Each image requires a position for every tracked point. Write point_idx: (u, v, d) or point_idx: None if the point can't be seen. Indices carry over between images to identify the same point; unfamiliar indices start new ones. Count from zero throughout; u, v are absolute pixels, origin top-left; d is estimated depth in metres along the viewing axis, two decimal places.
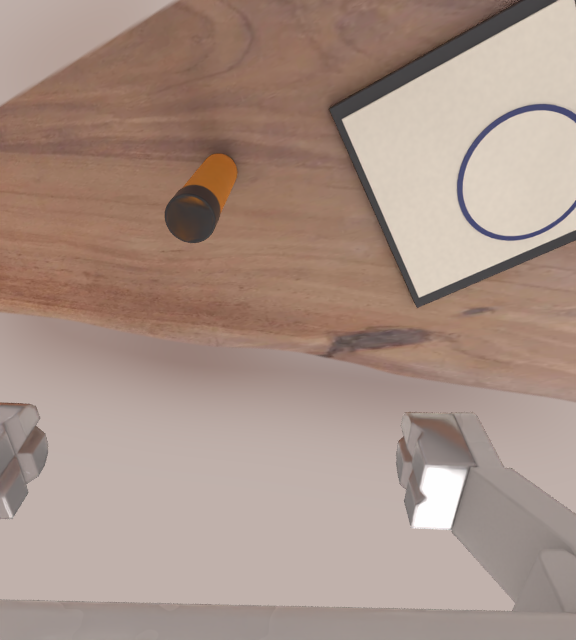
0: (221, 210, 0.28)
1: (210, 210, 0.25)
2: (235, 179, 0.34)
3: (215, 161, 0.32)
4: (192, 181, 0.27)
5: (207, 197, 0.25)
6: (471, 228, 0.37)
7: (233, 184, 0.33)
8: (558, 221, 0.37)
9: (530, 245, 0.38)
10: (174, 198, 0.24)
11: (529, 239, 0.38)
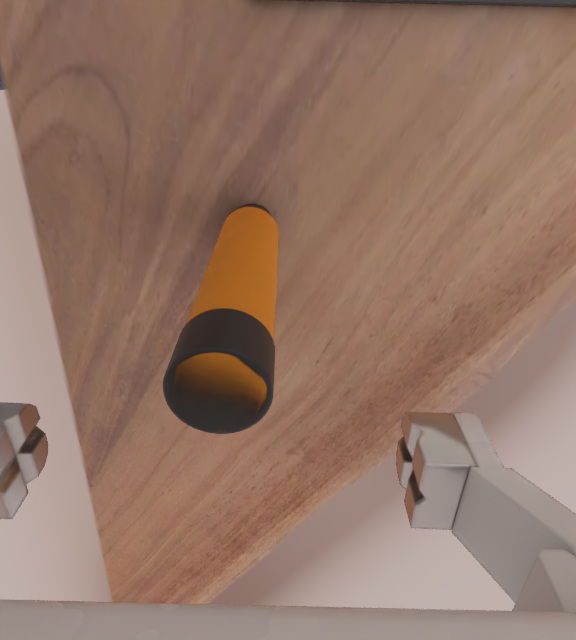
0: (262, 304, 0.14)
1: (219, 352, 0.11)
2: (269, 221, 0.20)
3: (219, 239, 0.19)
4: None
5: (198, 338, 0.11)
6: None
7: (270, 231, 0.19)
8: None
9: None
10: (166, 395, 0.12)
11: None
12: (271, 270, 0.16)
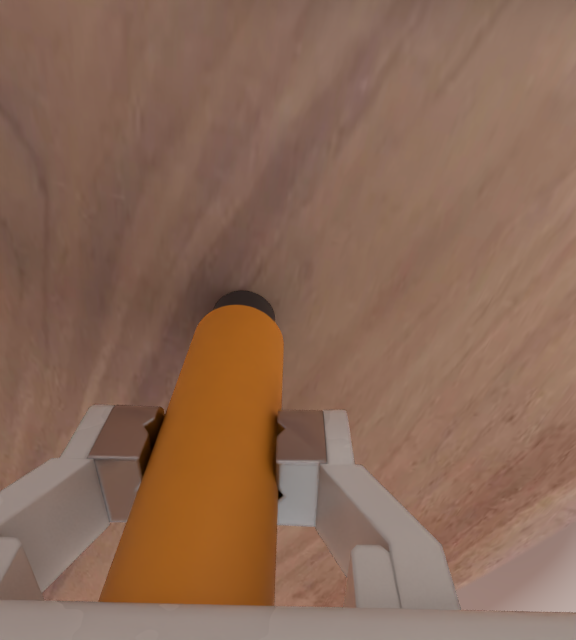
0: None
1: None
2: (267, 332, 0.12)
3: (180, 379, 0.11)
4: None
5: None
6: None
7: (268, 358, 0.11)
8: None
9: None
10: None
11: None
12: (268, 474, 0.09)
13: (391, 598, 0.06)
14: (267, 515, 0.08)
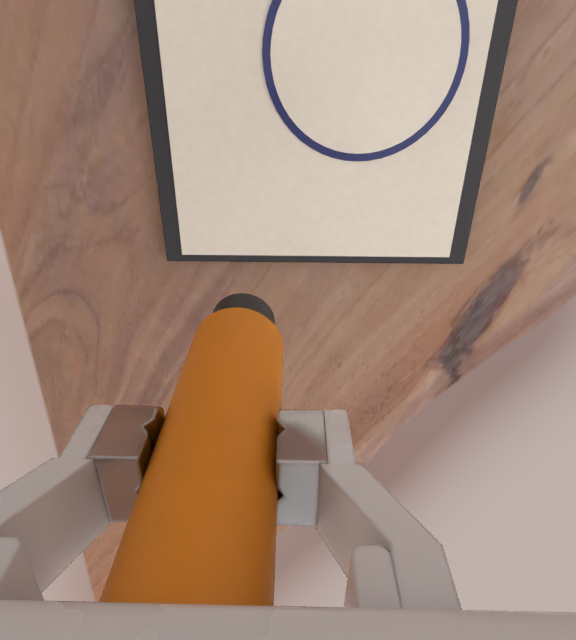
0: None
1: None
2: (267, 335, 0.12)
3: (180, 382, 0.11)
4: None
5: None
6: (395, 155, 0.25)
7: (268, 361, 0.12)
8: (465, 20, 0.22)
9: (476, 77, 0.23)
10: None
11: (465, 75, 0.23)
12: (267, 478, 0.09)
13: (392, 598, 0.06)
14: (266, 518, 0.08)
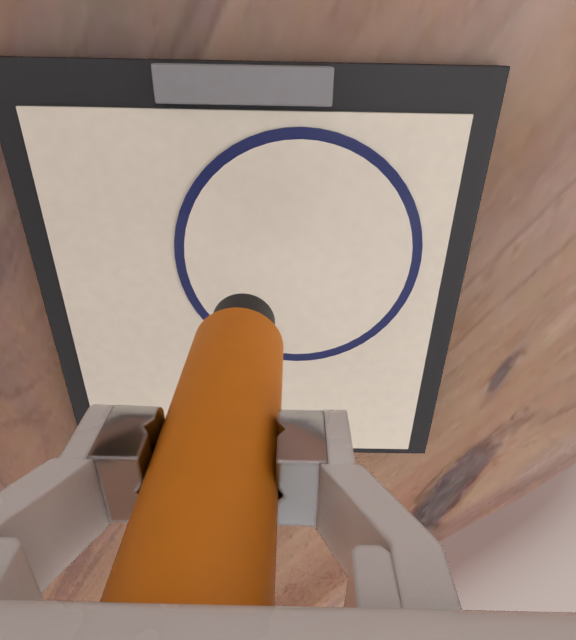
0: None
1: None
2: (267, 335, 0.12)
3: (180, 382, 0.11)
4: None
5: None
6: (340, 355, 0.21)
7: (268, 361, 0.11)
8: (416, 226, 0.18)
9: (432, 280, 0.20)
10: None
11: (419, 279, 0.20)
12: (268, 477, 0.09)
13: (392, 598, 0.06)
14: (267, 518, 0.08)
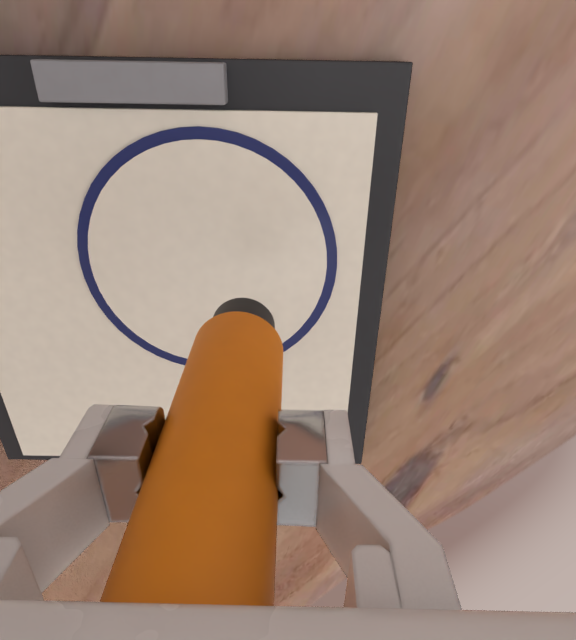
0: None
1: None
2: (267, 339, 0.12)
3: (180, 385, 0.11)
4: None
5: None
6: None
7: (268, 365, 0.11)
8: (329, 230, 0.18)
9: (351, 286, 0.19)
10: None
11: (337, 285, 0.19)
12: (268, 481, 0.09)
13: (392, 598, 0.06)
14: (267, 522, 0.08)
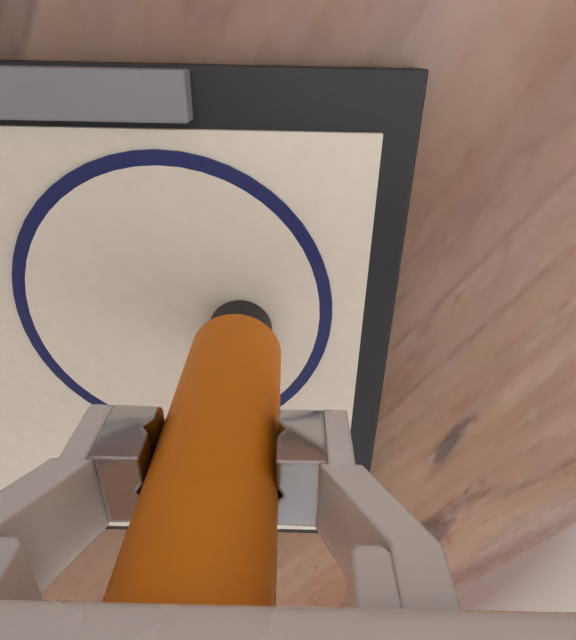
0: None
1: None
2: (265, 341, 0.12)
3: (179, 388, 0.11)
4: None
5: None
6: None
7: (266, 367, 0.12)
8: (322, 275, 0.14)
9: (349, 340, 0.15)
10: None
11: (333, 339, 0.15)
12: (268, 482, 0.09)
13: (392, 598, 0.06)
14: (268, 523, 0.08)
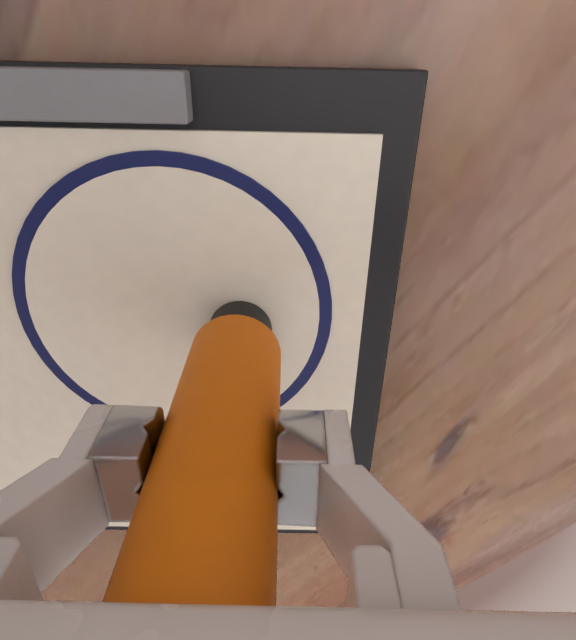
0: None
1: None
2: (265, 342, 0.12)
3: (179, 388, 0.11)
4: None
5: None
6: None
7: (266, 367, 0.12)
8: (321, 276, 0.14)
9: (349, 341, 0.15)
10: None
11: (333, 340, 0.15)
12: (268, 482, 0.09)
13: (392, 598, 0.06)
14: (268, 523, 0.08)
